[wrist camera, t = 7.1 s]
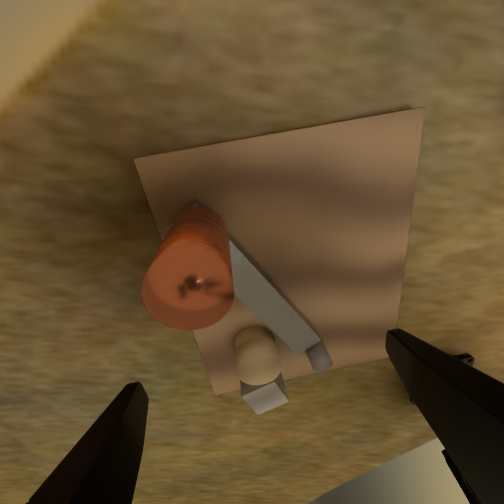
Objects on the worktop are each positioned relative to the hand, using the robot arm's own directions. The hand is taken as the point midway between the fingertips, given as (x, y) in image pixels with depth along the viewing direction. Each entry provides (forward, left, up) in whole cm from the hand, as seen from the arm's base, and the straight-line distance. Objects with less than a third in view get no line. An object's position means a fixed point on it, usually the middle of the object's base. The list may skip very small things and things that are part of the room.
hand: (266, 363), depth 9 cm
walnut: (-9, 0, -10) cm, 14 cm away
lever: (-3, 0, -10) cm, 10 cm away
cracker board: (-4, -4, -11) cm, 13 cm away
